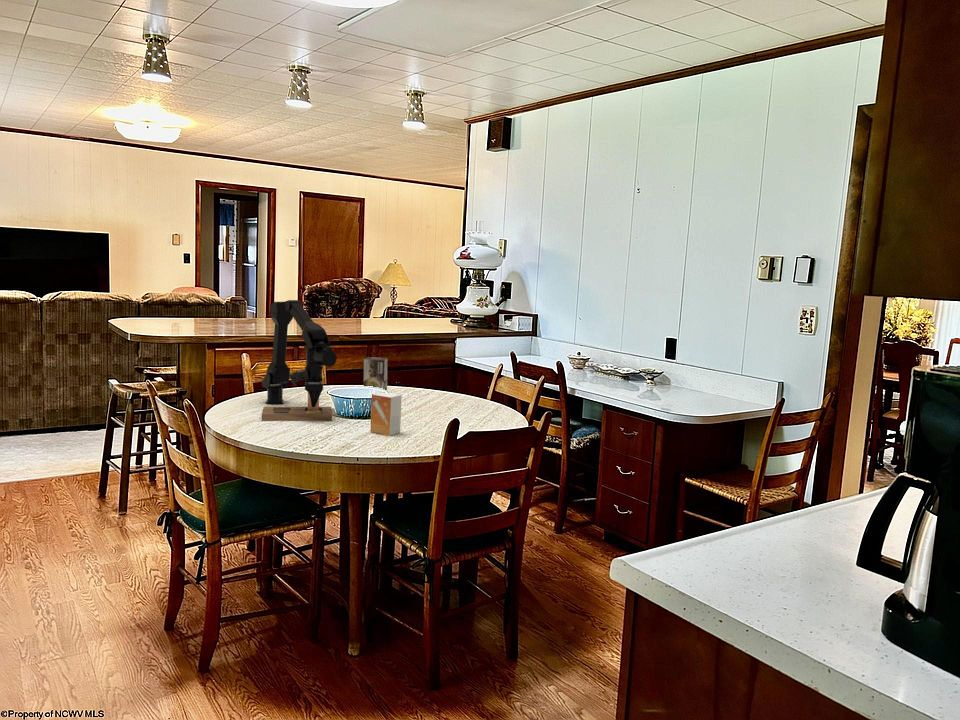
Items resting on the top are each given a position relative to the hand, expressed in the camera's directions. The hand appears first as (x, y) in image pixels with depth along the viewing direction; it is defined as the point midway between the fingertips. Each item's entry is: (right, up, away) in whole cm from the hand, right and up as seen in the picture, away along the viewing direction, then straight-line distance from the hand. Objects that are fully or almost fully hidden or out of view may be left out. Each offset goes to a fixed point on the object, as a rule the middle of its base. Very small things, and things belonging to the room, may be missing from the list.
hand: (313, 405), depth 266 cm
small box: (+28, -8, -18) cm, 35 cm away
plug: (0, -2, 0) cm, 2 cm away
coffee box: (+16, +1, +45) cm, 48 cm away
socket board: (-5, -4, -2) cm, 7 cm away
